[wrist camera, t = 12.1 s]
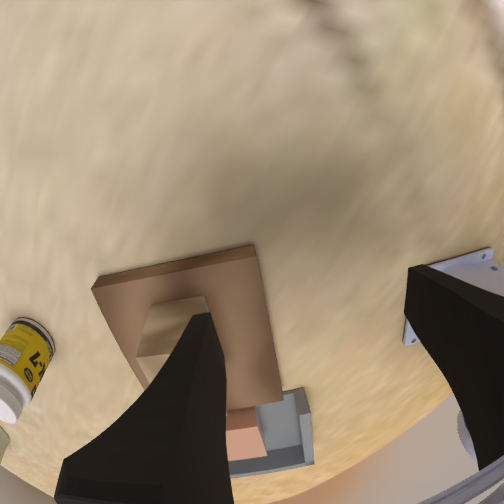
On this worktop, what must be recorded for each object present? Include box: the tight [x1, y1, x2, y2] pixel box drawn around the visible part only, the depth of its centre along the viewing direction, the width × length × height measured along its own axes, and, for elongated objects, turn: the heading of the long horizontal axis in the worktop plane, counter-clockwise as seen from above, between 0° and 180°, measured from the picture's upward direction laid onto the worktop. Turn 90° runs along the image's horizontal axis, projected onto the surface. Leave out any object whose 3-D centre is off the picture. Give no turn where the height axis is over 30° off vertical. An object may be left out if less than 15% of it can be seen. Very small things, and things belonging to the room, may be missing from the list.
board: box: [91, 245, 284, 410], centre depth 22 cm, size 11×14×2 cm
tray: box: [228, 388, 314, 478], centre depth 28 cm, size 15×11×3 cm
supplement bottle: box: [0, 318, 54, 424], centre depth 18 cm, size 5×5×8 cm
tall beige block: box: [136, 295, 227, 416], centre depth 19 cm, size 4×6×5 cm, turn 9°
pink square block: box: [226, 406, 267, 461], centre depth 26 cm, size 6×6×3 cm
